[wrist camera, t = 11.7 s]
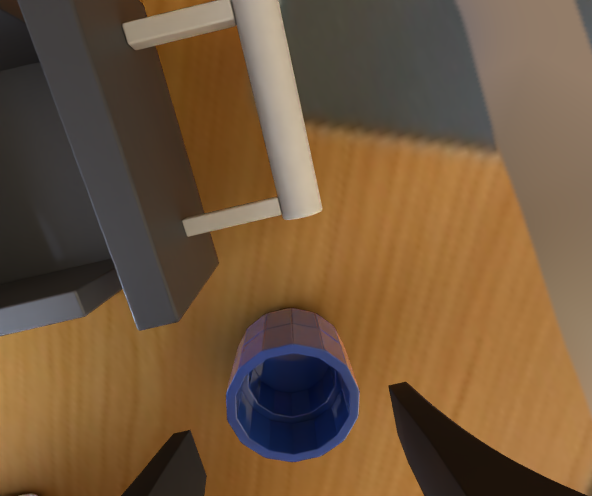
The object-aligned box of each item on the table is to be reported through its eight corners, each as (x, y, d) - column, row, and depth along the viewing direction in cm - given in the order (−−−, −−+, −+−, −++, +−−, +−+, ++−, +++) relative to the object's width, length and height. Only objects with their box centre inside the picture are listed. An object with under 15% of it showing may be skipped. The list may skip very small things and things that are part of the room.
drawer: (265, -26, 13) (251, -192, 7) (323, 240, 15) (348, 284, 9) (-174, 81, 13) (-549, 9, 7) (-51, 326, 15) (-258, 423, 9)
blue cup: (352, 385, 18) (371, 445, 14) (252, 407, 18) (244, 473, 14) (331, 293, 17) (347, 331, 13) (226, 317, 17) (208, 362, 13)
